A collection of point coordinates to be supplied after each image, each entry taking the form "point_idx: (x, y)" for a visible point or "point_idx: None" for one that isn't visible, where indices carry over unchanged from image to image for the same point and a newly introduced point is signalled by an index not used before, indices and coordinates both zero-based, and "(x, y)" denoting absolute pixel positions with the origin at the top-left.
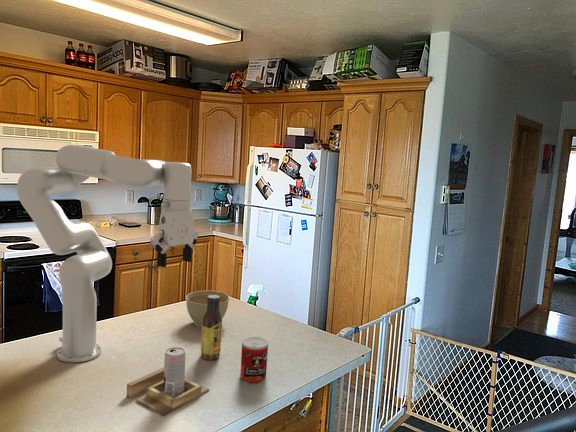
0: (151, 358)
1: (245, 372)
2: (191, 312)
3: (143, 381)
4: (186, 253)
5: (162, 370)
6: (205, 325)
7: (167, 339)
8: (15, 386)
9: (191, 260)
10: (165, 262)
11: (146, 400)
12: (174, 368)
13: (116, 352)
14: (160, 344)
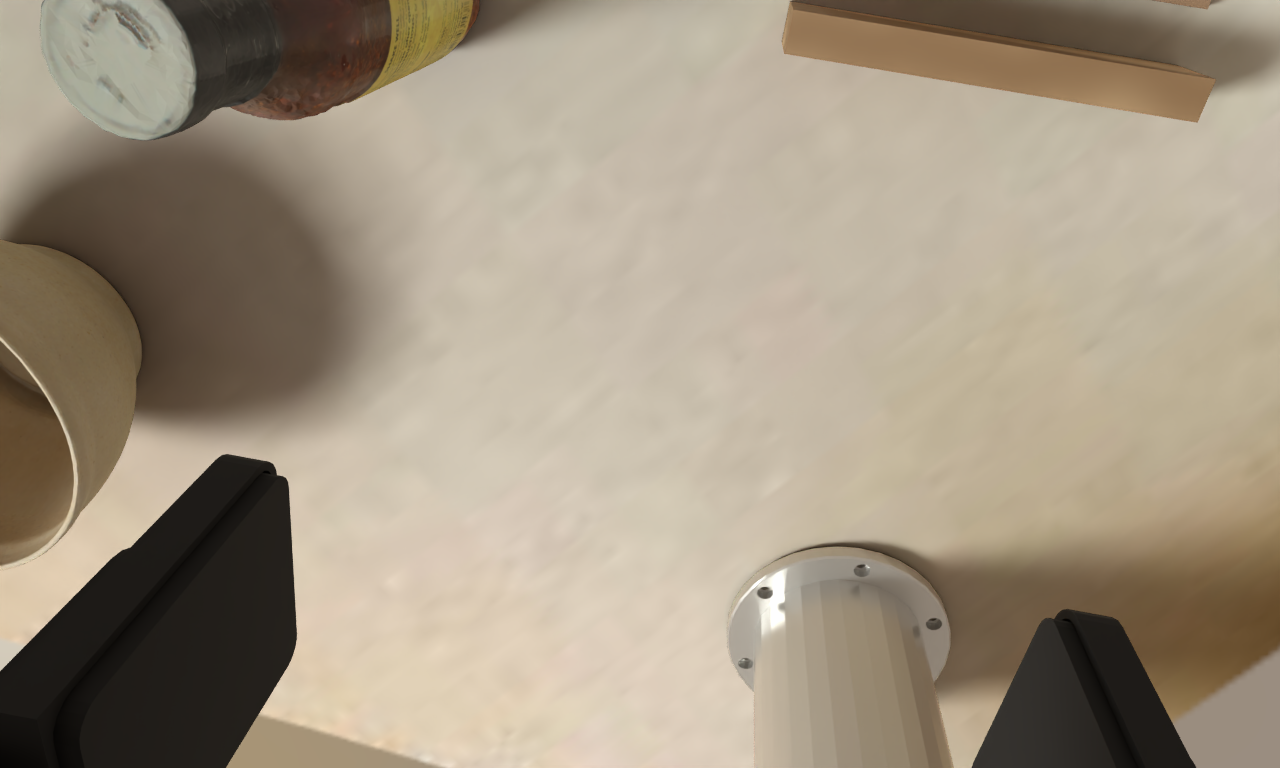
0: (673, 303)
1: None
2: (123, 423)
3: (1104, 60)
4: (189, 705)
5: (925, 42)
6: (382, 31)
7: (410, 388)
8: (1247, 628)
9: (213, 463)
10: (1134, 698)
11: None
12: None
13: (720, 505)
14: (491, 378)
